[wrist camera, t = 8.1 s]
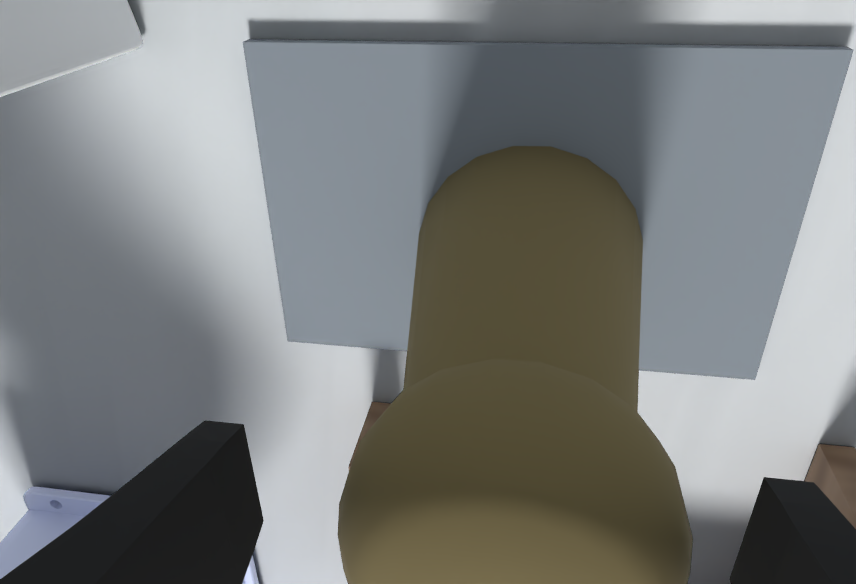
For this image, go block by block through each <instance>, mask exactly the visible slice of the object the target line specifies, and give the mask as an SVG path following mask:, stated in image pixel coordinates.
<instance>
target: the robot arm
mask: <svg viewBox="0 0 856 584" xmlns="http://www.w3.org/2000/svg"><path fill="white" fill-rule="evenodd" d="M23 498H24V501H25V503H26V506H27V508H28V511H27V512H26V514H25V515H24V516H23V517H22V518H21V519H20V521H19V522H18V523H17V524H16V525H15V526H14V527H13V529H12V530H11V531H10V532H9V533H8V534H7V536H6V537H5V538H4V539H3V540H2V541H1V543H0V584H259V582H258V577H257V573H256V568H255V564H254V560H253V551H254V548H255V545H256V542H257V539H258V536H259V533H260V530H261V527H262V524H263V516H262V511H261V506H260V501H259V496H258V492H257V487H256V482H255V477H254V472H253V467H252V462H251V458H250V453H249V448H248V443H247V438H246V433H245V428H244V424H234V423H224V422H214V421H204V422H202V423H201V424H200V425H199V426H197V427H196V428H195V429H193V430H192V431H191V432H190V433H188V434H187V435H186V436H185V437H183V438H182V439H181V440H180V441H178V442H177V443H176V444H175V445H173V446H172V447H171V448H170V449H168V450H167V451H166V452H165V453H164V454H162V455H161V456H160V457H159V458H157V459H156V460H155V461H154V462H152V463H151V464H150V465H149V466H148V467H146V468H145V469H144V470H143V471H141V472H140V473H139V474H138V475H136V476H135V477H134V478H133V479H132V480H130V481H129V482H128V483H127V484H125V485H124V486H123V487H121V488H120V489H119V490H118V491H116V492H115V493H114V494H113V495H111V496H109V495H101V494H93V493H85V492H77V491H69V490H61V489H52V488H44V487H31V488H29V489H28V490H27V491H26V492H25V494H24V496H23ZM730 582H731V584H856V529H855V528H854V527H853V525H852V524H851V523H850V522H849V521H848V520H847V519H846V518H845V516H844V515H843V514H842V513H841V512H840V511H839V510H838V508H837V507H836V506H835V505H834V504H833V503H832V502H831V501H830V499H829V498H828V497H827V496H826V495H825V494H824V493H823V492H822V491H821V490H820V488H819V487H818V486H817V485H816V484H815V483H814V482H805V481H795V480H785V479H776V478H766V477H764V479H763V482H762V485H761V488H760V491H759V494H758V497H757V499H756V502H755V505H754V508H753V511H752V514H751V517H750V520H749V523H748V526H747V529H746V532H745V535H744V538H743V541H742V544H741V547H740V550H739V553H738V556H737V559H736V562H735V565H734V568H733V570H732V573H731V576H730Z"/></svg>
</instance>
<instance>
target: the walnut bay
mask: <svg viewBox="0 0 856 584" xmlns="http://www.w3.org/2000/svg"><path fill="white" fill-rule="evenodd" d="M390 405H391V404H390V403H380V402H372V403H371V406H370V409H369V412H368V414H367V417H366V420H365V423H364V425H363V428H362V431H361V434H360V436H359V439H358V442H357V445H356V448H355V450H354V453H353V456H352V459H351V461H350V464H349V470H350V467H351V465H352V462H353V459H354V457H355V454H356V451H357V449H358V446H359V444H360V441H361V439H362V438H363V437H364V436H365V434H366V433H367V432H368V431H369V429H370V428H371V427H372V426H373V424H374V423H375V422H376V421H377V419H378V418H379V417H380V416H381V415H382V414H383V412H384V411H385V410H386V409H387V408H388V407H389V406H390ZM805 482H814V483H815V484H816V485H817V486H818V487H819V488H820V490H821V491H822V492H823V493H824V494H825V495H826V496H827V497H828V498H829V499H830V501H831V502H832V503H833V504H834V505H835V506H836V507H837V508H838V510H839V511H840V512H841V513H842V514H843V515H844V516H845V518H846V519H847V520H848V521H849V522H850V523H851V524H852V525H853V527H854V528H855V529H856V449H855V448H854V447H846V446H835V445H825V444H819V445H818V448H817V450H816V453H815V455H814V458H813V461H812V463H811V466H810V469H809V471H808V474H807V476H806V479H805Z"/></svg>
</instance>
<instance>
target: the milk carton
mask: <svg viewBox="0 0 856 584" xmlns="http://www.w3.org/2000/svg"><path fill="white" fill-rule="evenodd" d="M142 44H143V39H142V36H141V33H140V30H139V28H138V25H137V23H136V20H135V18H134V15H133V13H132V11H131V8H130V6H129V3H128V1H127V0H0V97H2V96H5V95H8V94H11V93H14V92H17V91H20V90H22V89H25V88H28V87H31V86H34V85H37V84H40V83H43V82H45V81H48V80H51V79H54V78H57V77H60V76H63V75H66V74H69V73H71V72H74V71H77V70H80V69H83V68H86V67H89V66H92V65H94V64H97V63H100V62H103V61H106V60H109V59H112V58H115V57H118V56H120V55H123V54H126V53H129V52H132V51H135V50H137V49H138V48H140V47H142Z"/></svg>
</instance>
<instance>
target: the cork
mask: <svg viewBox="0 0 856 584" xmlns="http://www.w3.org/2000/svg"><path fill="white" fill-rule="evenodd" d="M642 255H643V239H642V234H641V230H640V226H639V222H638V217H637V213H636V209H635V207H634V206H633V204H632V203H631V201H630V200H629V198H628V197H627V195H626V194H625V192H624V191H623V189H622V188H621V186H620V185H619V183H618V182H617V180H616V179H614V178H613V177H612V176H610V175H609V174H608V173H606V172H605V171H603V170H602V169H601V168H599V167H598V166H597V165H595V164H594V163H593V162H591V161H590V160H589V159H587V158H585V157H582V156H579V155H576V154H573V153H570V152H566V151H563V150H560V149H557V148H554V147H551V146H511V147H508V148H504V149H501V150H498V151H494V152H491V153H488V154H484V155H481V156H478V157H476V158H474V159H473V160H471V161H470V162H469V163H467V164H466V165H464V166H463V167H461V168H460V169H458V170H457V171H456V172H454V173H453V174H451V175H450V176H448V177H447V179H446V180H445V181H444V183H443V184H442V185H441V187H440V188H439V189H438V191H437V192H436V194H435V195H434V196H433V198H432V199H431V200H430V202H429V203H428V205H427V209H426V212H425V215H424V219H423V222H422V225H421V228H420V232H419V238H418V248H417V258H416V268H415V278H414V288H413V298H412V308H411V318H410V328H409V338H408V348H407V358H406V368H405V378H404V388H403V391H402V392H401V393H400V394H399V395H398V397H397V398H396V399H395V400H394V401H393V402H392V403H391V405H390V406H389V407H388V408H387V409H386V410H385V411H384V412H383V414H382V415H381V416H380V417H379V418H378V419H377V421H376V422H375V423H374V424H373V426H372V427H371V428H370V429H369V431H368V432H367V433H366V434H365V436H364V437H363V438H362V439H361V441H360V444H359V446H358V449H357V451H356V454H355V457H354V459H353V462H352V465H351V467H350V470H349V474H348V477H347V480H346V483H345V487H344V490H343V493H342V496H341V500H340V503H339V521H338V539H339V545H340V551H341V557H342V563H343V569H344V572H345V575H346V578H347V581H348V584H687V583H688V579H689V575H690V568H691V556H692V545H693V537H692V533H691V529H690V525H689V521H688V516H687V512H686V508H685V504H684V500H683V496H682V492H681V488H680V484H679V480H678V476H677V472H676V469H675V466H674V464H673V462H672V461H671V459H670V458H669V456H668V454H667V453H666V451H665V450H664V448H663V446H662V445H661V443H660V441H659V440H658V439H657V437H656V436H655V435H654V433H653V432H652V431H651V429H650V428H649V427H648V426H647V424H646V423H645V422H644V420H643V419H642V418H641V416H640V415H639V414H638V413H637V406H638V376H639V346H640V316H641V285H642Z"/></svg>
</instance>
